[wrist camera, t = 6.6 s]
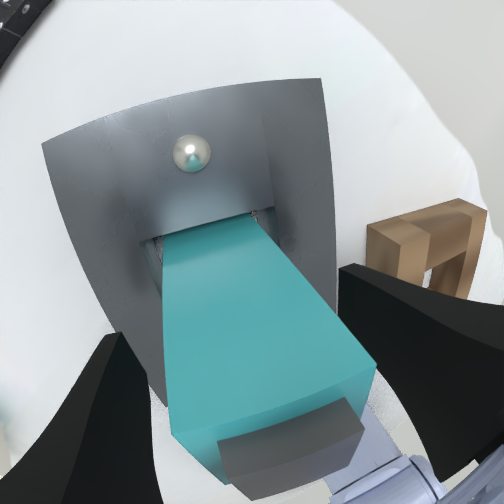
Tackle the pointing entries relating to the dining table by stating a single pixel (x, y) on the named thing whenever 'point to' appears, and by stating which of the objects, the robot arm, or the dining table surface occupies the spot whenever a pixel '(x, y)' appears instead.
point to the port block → (194, 191)
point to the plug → (257, 361)
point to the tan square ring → (430, 246)
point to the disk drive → (16, 22)
